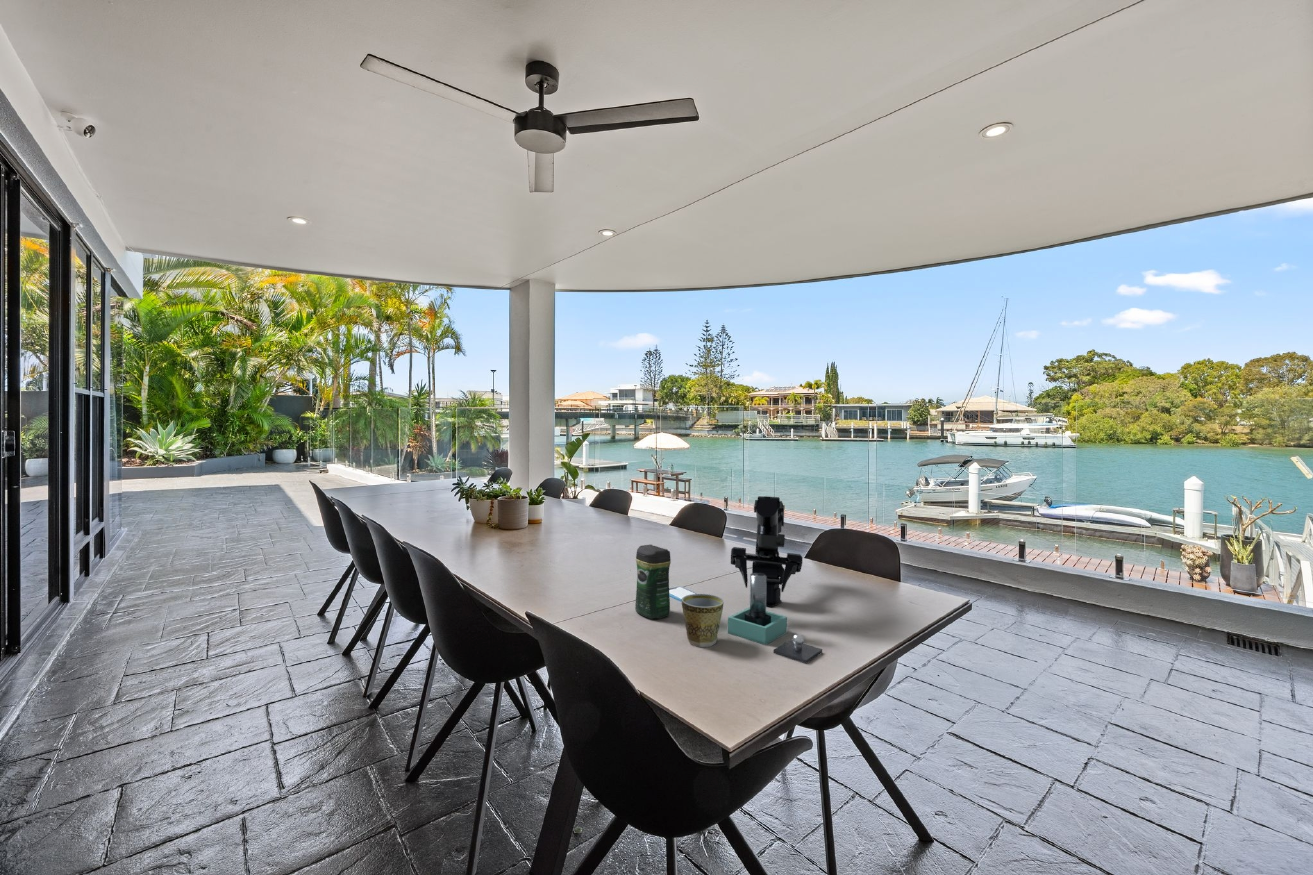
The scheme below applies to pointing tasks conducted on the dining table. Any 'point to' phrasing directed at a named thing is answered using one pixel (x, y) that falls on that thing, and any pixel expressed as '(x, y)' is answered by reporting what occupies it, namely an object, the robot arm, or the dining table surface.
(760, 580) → the strut
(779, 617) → the bin
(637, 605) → the coffee jar
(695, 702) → the dining table surface
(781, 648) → the stud base
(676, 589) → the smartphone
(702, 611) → the ceramic cup
